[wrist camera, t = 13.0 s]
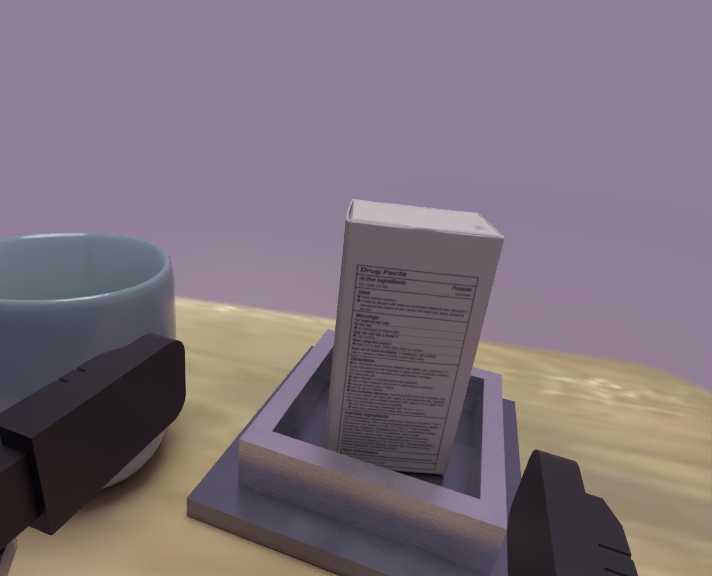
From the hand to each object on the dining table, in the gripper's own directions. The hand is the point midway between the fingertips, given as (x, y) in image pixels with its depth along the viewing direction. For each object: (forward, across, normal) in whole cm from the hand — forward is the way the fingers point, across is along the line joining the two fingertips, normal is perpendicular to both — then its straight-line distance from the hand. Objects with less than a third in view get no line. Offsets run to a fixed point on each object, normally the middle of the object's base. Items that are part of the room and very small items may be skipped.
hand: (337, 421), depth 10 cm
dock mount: (+11, 0, +11) cm, 15 cm away
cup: (+5, +13, +11) cm, 17 cm away
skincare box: (+11, 0, +10) cm, 14 cm away
